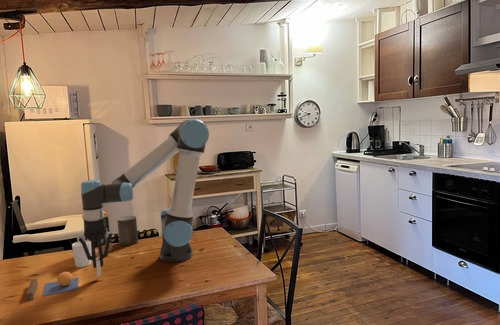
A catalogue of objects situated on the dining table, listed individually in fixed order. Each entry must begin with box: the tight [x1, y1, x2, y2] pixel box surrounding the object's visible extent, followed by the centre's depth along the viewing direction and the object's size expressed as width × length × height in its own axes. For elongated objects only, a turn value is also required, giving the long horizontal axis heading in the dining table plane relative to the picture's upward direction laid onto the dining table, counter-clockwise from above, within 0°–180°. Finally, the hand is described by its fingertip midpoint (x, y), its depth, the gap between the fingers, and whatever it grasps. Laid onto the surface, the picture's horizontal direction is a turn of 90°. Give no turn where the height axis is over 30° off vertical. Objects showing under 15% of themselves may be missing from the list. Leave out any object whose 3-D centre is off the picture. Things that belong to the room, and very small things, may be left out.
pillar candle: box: [116, 215, 139, 247], centre depth 195 cm, size 10×10×15 cm
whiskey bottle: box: [81, 209, 113, 257], centre depth 181 cm, size 10×10×32 cm
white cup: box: [71, 240, 93, 268], centre depth 167 cm, size 8×8×10 cm
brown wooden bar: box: [25, 278, 39, 301], centre depth 141 cm, size 2×14×2 cm, turn 24°
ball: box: [56, 271, 74, 286], centre depth 146 cm, size 6×6×6 cm
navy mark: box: [42, 276, 79, 297], centre depth 145 cm, size 12×12×1 cm
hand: (99, 274), depth 151 cm, fingers closed
